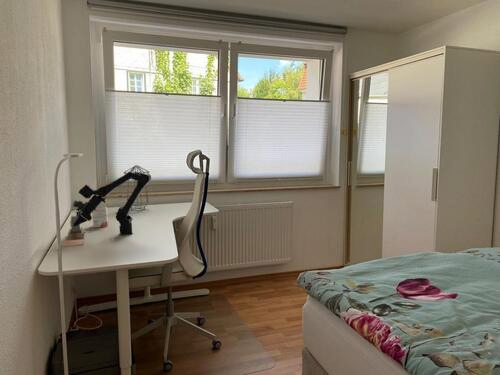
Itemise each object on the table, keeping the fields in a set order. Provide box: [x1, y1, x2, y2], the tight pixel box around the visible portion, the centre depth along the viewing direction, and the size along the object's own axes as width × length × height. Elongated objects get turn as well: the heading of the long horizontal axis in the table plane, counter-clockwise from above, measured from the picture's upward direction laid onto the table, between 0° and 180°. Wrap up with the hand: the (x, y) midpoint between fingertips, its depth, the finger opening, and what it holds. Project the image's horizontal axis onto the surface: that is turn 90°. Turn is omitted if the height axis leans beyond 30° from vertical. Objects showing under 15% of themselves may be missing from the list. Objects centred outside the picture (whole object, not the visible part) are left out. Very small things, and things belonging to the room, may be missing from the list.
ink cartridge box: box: [91, 203, 109, 228], centre depth 237 cm, size 9×5×15 cm, turn 105°
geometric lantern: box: [123, 165, 150, 212], centre depth 289 cm, size 16×16×35 cm
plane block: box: [67, 226, 85, 241], centre depth 212 cm, size 8×11×4 cm
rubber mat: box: [61, 238, 85, 248], centre depth 199 cm, size 10×10×1 cm
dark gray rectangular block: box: [69, 215, 81, 233], centre depth 211 cm, size 5×4×9 cm
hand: (73, 225), depth 210 cm, fingers open, 5 cm apart
